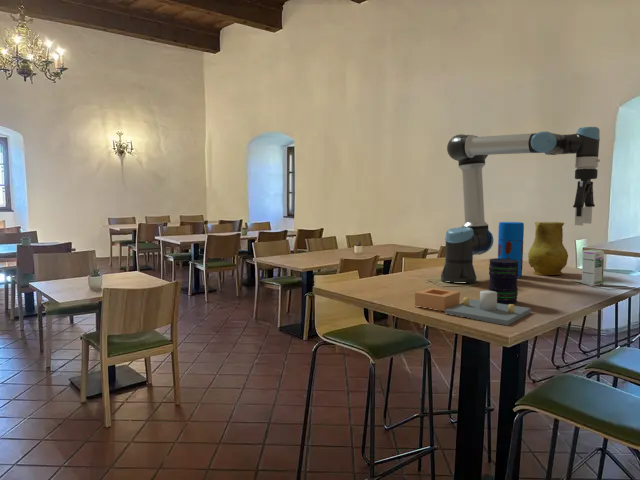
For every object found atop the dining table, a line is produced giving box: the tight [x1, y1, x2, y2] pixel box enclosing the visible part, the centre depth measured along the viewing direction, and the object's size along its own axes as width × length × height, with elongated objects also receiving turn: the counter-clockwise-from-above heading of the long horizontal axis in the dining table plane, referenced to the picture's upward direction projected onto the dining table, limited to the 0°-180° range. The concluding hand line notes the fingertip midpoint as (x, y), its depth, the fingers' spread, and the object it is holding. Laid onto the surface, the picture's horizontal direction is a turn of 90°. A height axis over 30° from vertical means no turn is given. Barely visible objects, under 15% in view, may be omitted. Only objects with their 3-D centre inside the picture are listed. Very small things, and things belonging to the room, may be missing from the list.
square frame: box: [414, 287, 461, 311], centre depth 163 cm, size 11×11×5 cm
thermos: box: [497, 221, 525, 279], centre depth 221 cm, size 11×11×25 cm
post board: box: [444, 290, 532, 326], centre depth 153 cm, size 20×20×7 cm
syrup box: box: [581, 249, 605, 286], centre depth 201 cm, size 6×6×14 cm
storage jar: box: [487, 257, 519, 305], centre depth 169 cm, size 10×10×15 cm
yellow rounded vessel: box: [527, 221, 569, 276], centre depth 226 cm, size 17×19×25 cm
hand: (583, 224), depth 183 cm, fingers open, 13 cm apart
